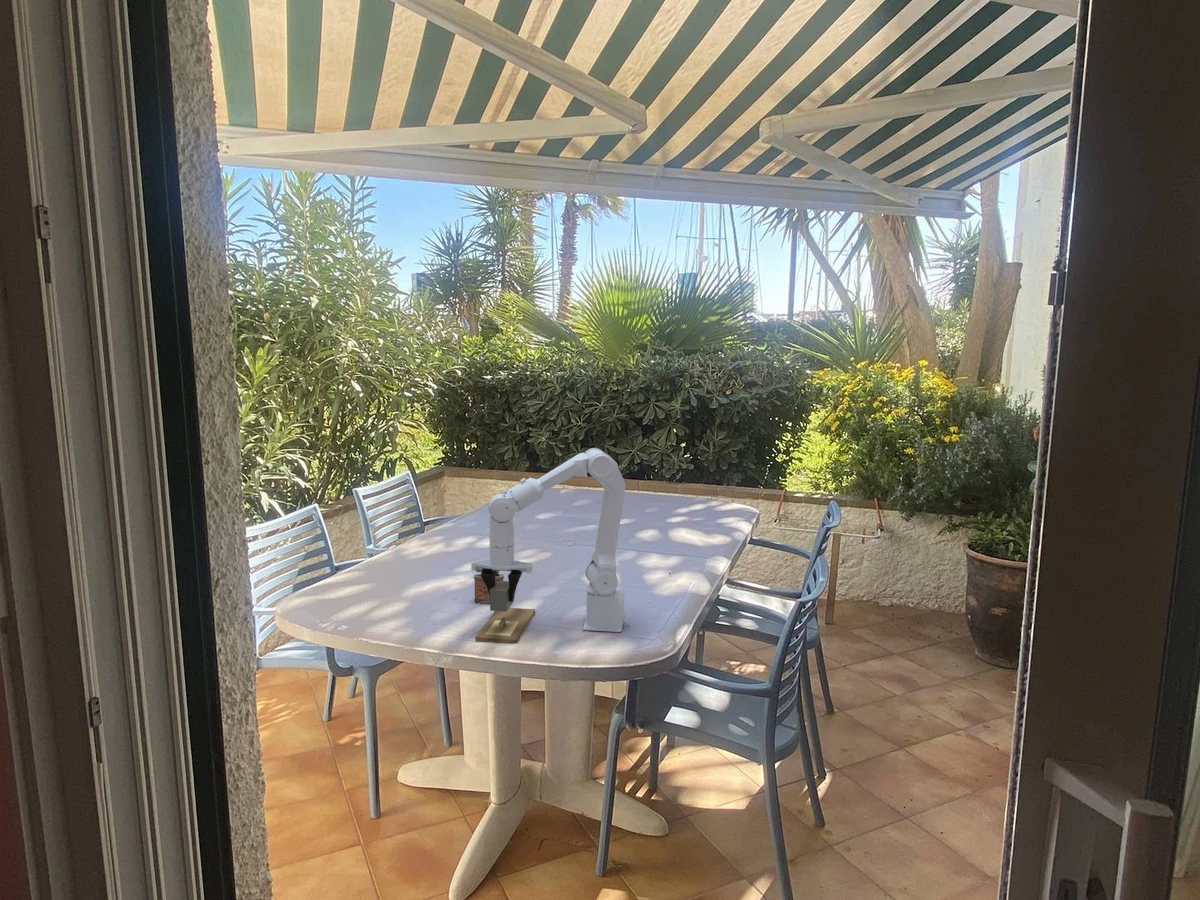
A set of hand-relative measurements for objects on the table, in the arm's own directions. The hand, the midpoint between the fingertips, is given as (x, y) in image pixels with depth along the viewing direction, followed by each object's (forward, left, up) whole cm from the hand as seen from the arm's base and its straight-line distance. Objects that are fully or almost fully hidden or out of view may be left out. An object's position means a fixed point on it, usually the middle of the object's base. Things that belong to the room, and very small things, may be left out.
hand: (502, 599), depth 175 cm
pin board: (0, -4, -8) cm, 9 cm away
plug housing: (0, 0, -1) cm, 1 cm away
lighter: (+9, -20, -8) cm, 24 cm away
